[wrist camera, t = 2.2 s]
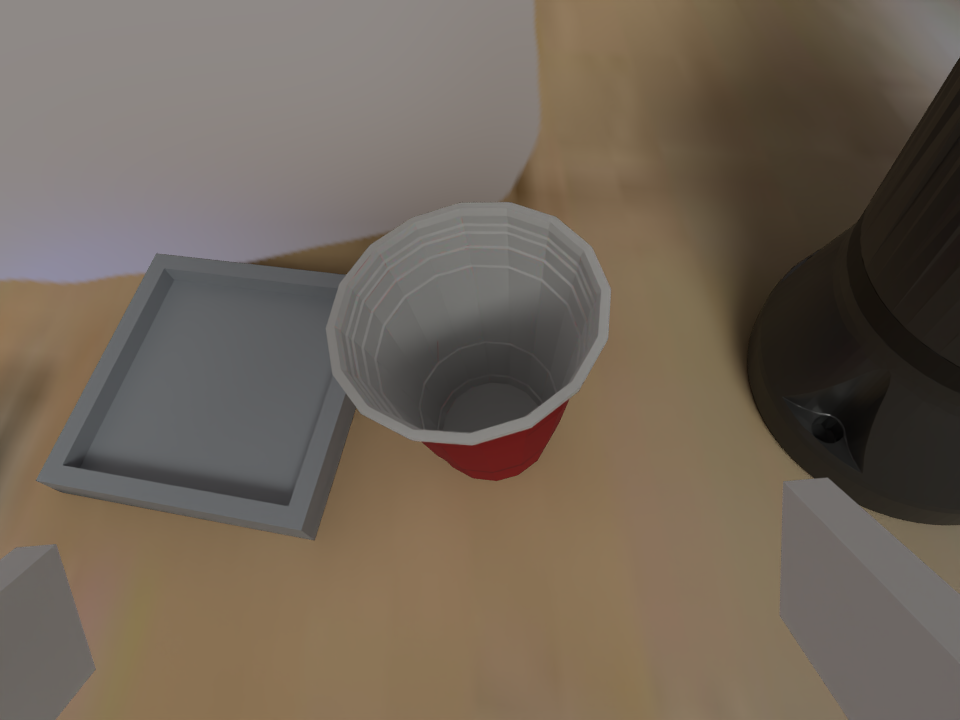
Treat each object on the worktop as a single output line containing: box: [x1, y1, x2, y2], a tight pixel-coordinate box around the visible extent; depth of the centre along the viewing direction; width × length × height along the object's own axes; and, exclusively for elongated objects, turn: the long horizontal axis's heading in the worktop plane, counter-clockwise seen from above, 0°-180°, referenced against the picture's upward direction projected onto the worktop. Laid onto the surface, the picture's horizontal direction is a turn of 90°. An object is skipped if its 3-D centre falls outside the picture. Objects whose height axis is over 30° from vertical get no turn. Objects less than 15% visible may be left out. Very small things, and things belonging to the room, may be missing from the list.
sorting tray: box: [36, 254, 356, 540], centre depth 36 cm, size 15×15×2 cm
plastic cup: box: [326, 202, 611, 481], centre depth 29 cm, size 11×11×12 cm
